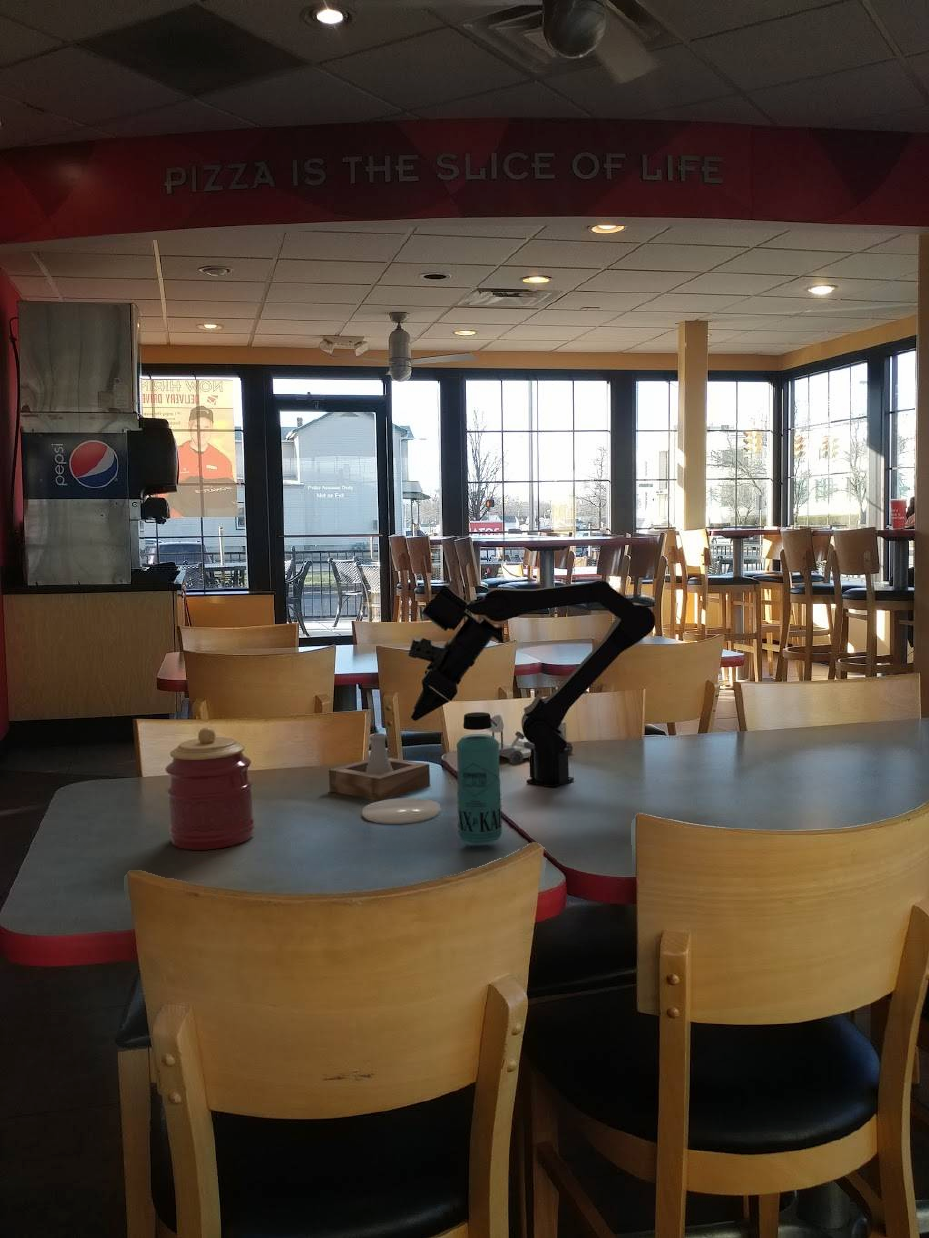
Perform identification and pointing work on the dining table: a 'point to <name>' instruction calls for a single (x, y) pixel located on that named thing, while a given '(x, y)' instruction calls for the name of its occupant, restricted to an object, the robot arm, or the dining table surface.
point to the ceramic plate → (401, 811)
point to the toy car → (519, 742)
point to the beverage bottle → (478, 782)
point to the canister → (209, 793)
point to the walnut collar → (379, 779)
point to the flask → (378, 756)
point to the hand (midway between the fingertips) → (414, 714)
